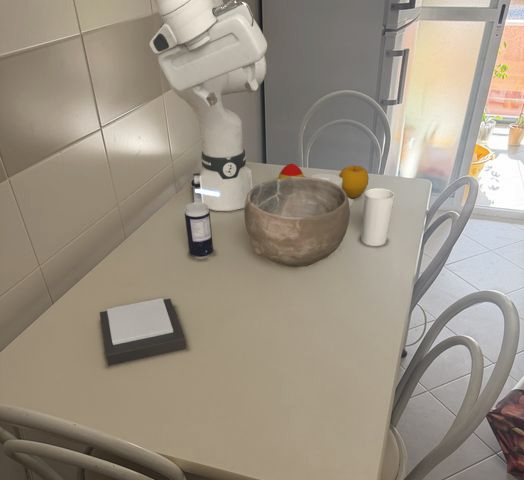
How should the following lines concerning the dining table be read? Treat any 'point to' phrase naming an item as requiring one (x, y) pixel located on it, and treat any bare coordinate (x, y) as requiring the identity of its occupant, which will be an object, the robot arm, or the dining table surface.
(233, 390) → the dining table surface
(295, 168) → the decorative egg
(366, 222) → the mug
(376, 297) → the dining table surface
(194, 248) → the beverage can
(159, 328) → the scale
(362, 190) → the apple
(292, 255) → the bowl
